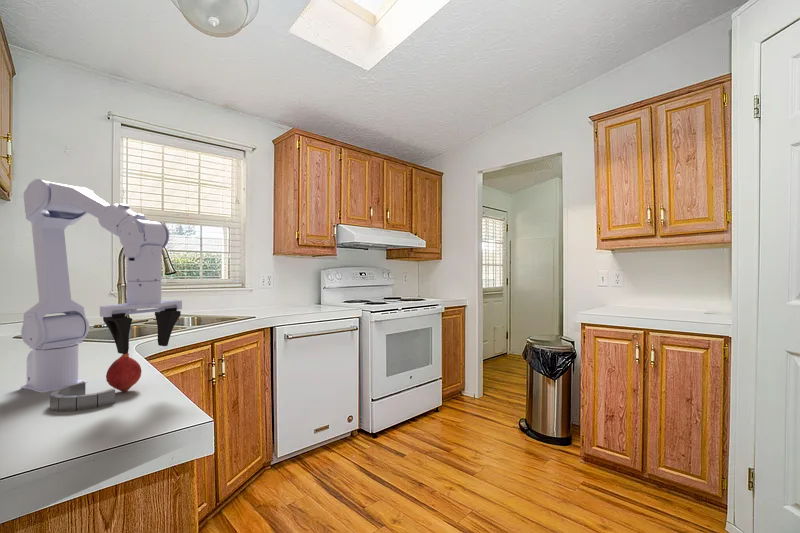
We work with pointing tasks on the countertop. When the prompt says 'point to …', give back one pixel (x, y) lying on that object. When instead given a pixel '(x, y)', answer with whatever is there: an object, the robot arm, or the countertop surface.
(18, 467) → the countertop surface
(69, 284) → the robot arm
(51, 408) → the split collar
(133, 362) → the onion
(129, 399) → the countertop surface
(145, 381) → the countertop surface
